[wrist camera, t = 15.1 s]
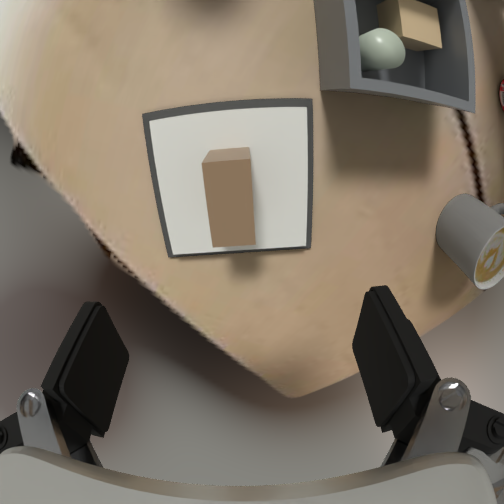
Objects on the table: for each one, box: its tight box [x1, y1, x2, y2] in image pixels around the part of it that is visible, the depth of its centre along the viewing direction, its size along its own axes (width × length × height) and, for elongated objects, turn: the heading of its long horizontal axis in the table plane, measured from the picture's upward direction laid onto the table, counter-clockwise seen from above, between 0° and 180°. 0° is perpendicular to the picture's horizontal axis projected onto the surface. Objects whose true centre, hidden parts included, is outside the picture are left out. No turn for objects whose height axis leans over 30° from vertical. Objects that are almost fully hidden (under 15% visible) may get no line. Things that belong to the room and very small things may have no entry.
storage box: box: [314, 0, 475, 113], centre depth 18 cm, size 14×14×9 cm
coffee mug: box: [436, 194, 504, 289], centre depth 29 cm, size 13×10×10 cm
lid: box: [149, 107, 308, 255], centre depth 27 cm, size 16×16×7 cm
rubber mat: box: [142, 98, 313, 257], centre depth 30 cm, size 18×18×1 cm
